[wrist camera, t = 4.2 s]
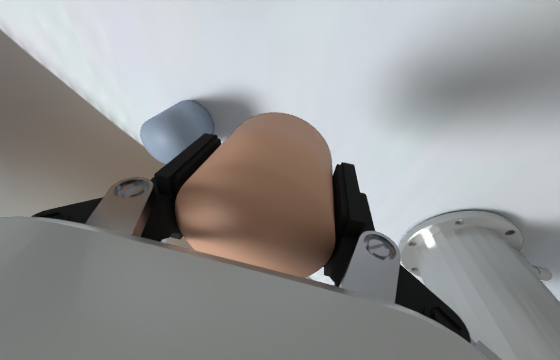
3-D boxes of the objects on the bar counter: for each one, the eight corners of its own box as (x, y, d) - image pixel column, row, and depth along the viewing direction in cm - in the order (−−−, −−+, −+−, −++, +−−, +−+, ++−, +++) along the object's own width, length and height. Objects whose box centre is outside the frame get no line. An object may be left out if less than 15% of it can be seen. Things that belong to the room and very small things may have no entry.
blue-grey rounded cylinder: (212, 104, 21) (188, 124, 17) (214, 144, 24) (193, 169, 20) (169, 96, 21) (134, 113, 17) (175, 137, 24) (147, 160, 20)
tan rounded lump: (347, 126, 10) (361, 190, 6) (316, 215, 13) (312, 295, 9) (226, 101, 10) (161, 146, 6) (226, 194, 14) (184, 262, 10)
